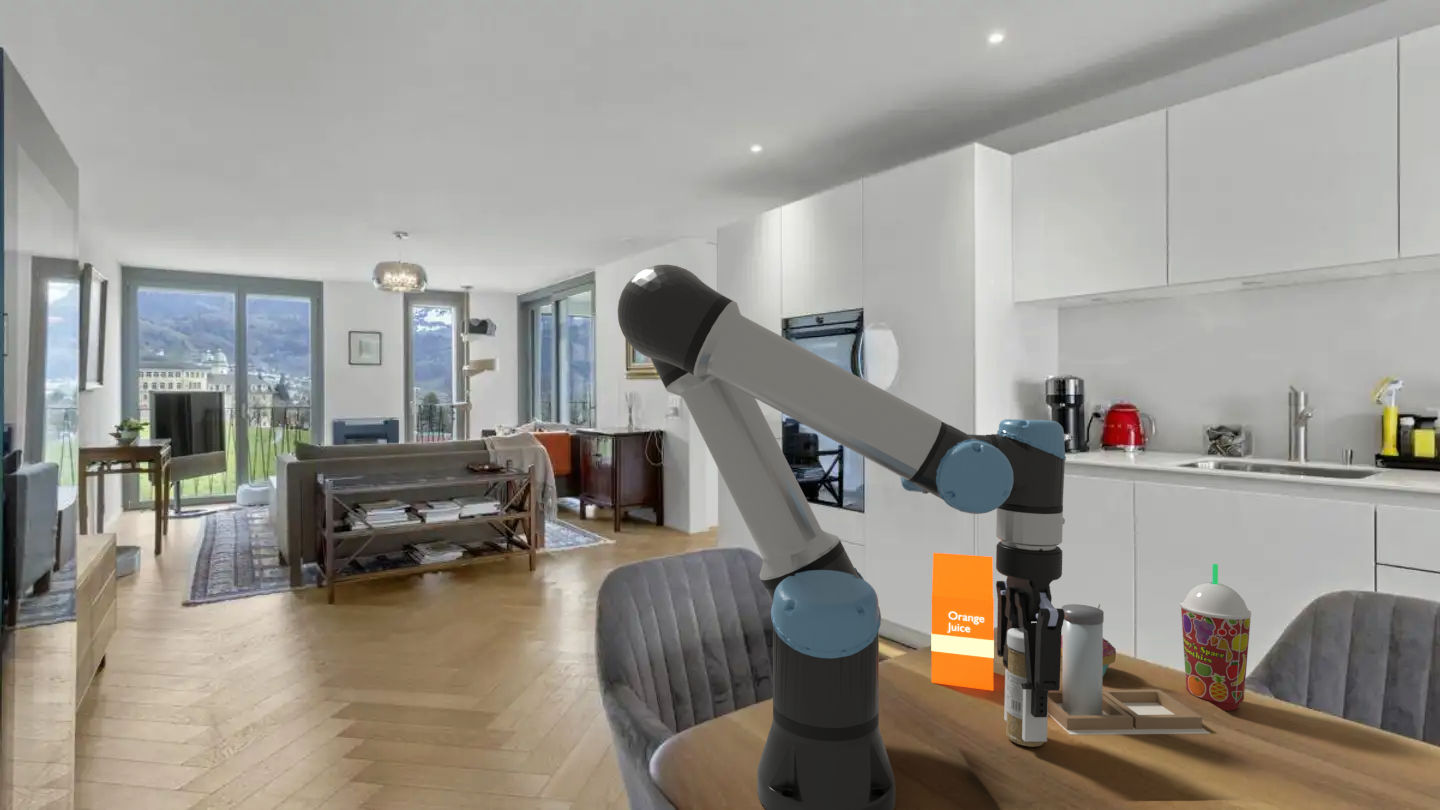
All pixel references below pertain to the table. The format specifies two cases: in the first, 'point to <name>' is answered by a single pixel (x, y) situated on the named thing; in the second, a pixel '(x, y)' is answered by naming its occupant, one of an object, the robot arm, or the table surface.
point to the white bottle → (1082, 660)
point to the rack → (1129, 714)
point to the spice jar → (1016, 686)
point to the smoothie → (1215, 643)
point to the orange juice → (962, 620)
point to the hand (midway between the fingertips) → (1024, 729)
